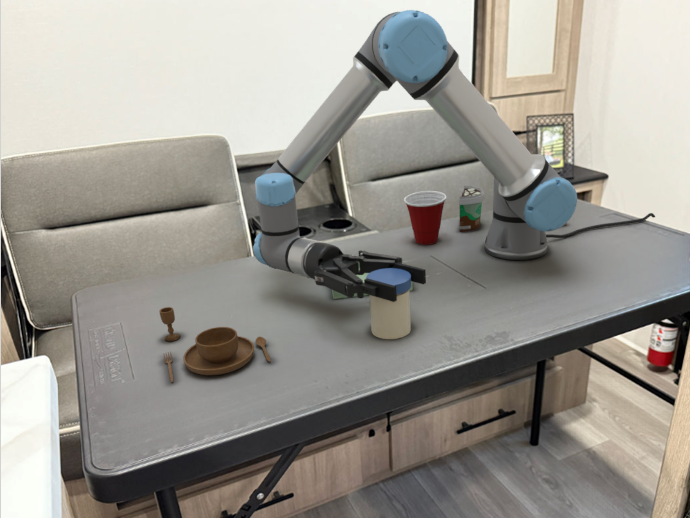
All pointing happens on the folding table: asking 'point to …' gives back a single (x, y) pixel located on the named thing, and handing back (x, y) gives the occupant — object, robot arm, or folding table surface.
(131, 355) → the folding table surface
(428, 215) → the plastic cup
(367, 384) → the folding table surface
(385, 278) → the lid
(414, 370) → the folding table surface
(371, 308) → the jar
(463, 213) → the food container
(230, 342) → the place setting
